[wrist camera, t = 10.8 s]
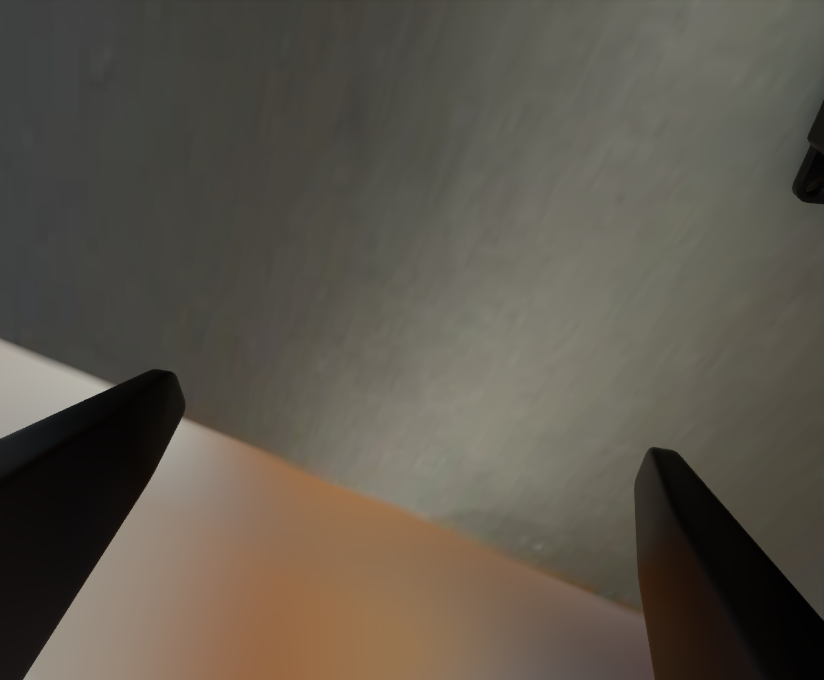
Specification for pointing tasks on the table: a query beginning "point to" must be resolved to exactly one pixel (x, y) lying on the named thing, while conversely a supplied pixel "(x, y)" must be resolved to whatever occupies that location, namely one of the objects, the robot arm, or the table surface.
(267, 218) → the table surface
